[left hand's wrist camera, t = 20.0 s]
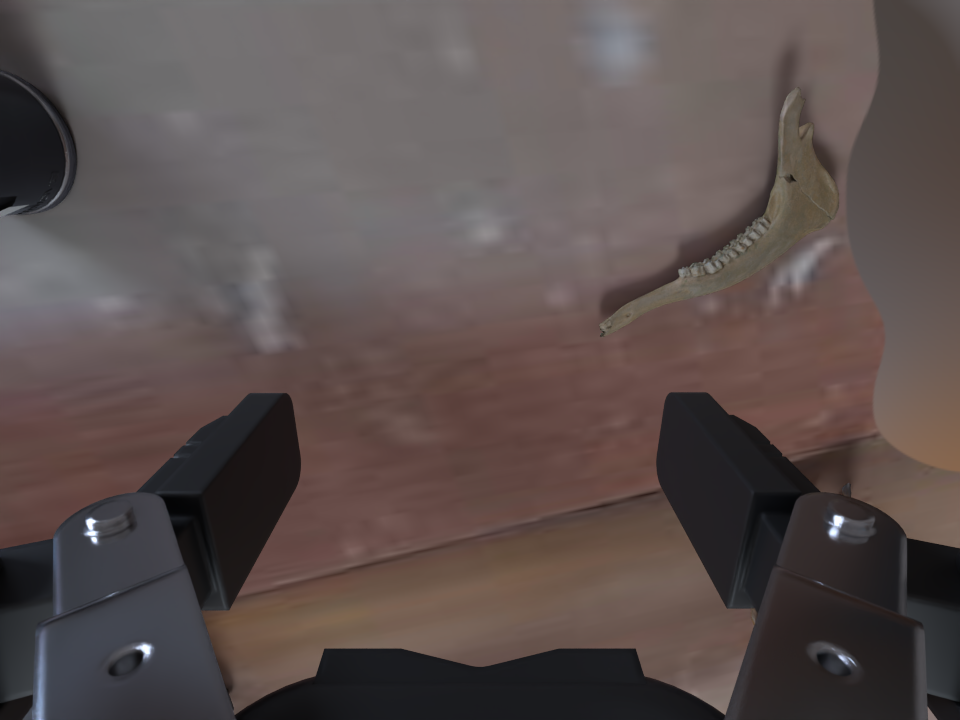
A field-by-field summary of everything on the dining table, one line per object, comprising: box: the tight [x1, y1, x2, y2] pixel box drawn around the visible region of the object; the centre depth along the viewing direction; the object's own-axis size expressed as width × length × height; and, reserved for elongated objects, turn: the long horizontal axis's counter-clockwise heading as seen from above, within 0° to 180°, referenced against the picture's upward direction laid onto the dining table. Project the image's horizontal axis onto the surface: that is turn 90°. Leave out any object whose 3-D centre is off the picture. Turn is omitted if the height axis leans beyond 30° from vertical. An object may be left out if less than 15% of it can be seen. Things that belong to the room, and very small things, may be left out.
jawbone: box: [599, 87, 839, 337], centre depth 38 cm, size 9×20×2 cm, turn 147°
